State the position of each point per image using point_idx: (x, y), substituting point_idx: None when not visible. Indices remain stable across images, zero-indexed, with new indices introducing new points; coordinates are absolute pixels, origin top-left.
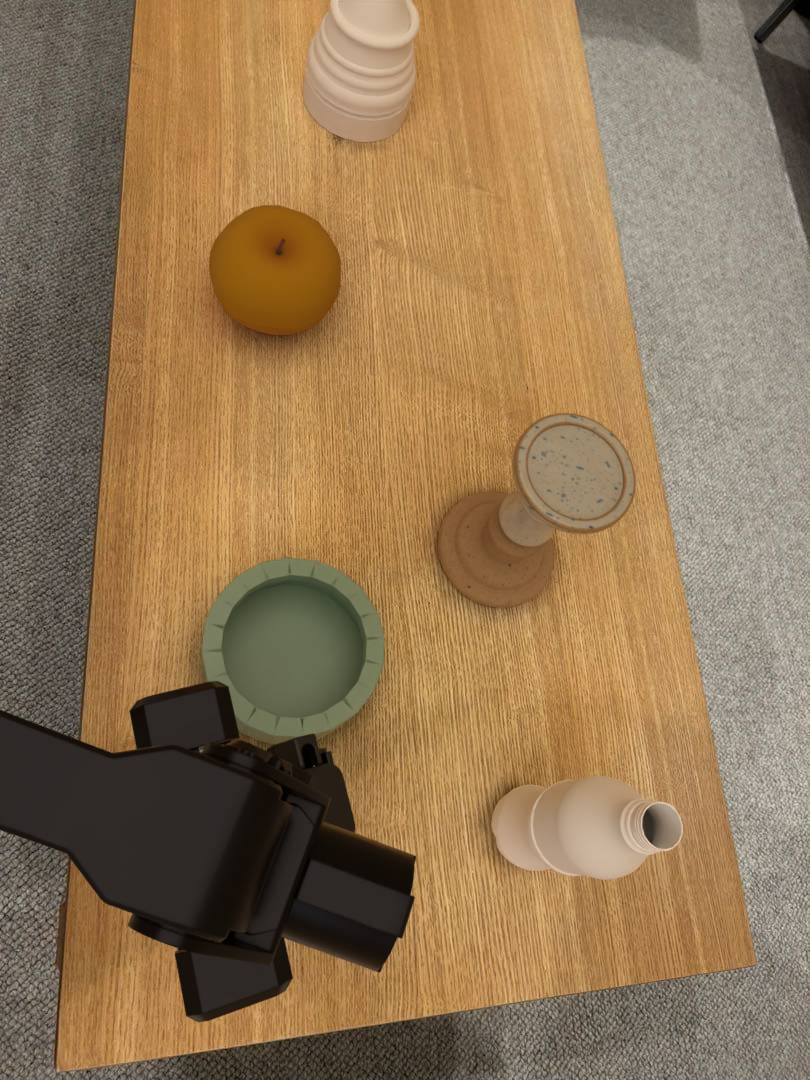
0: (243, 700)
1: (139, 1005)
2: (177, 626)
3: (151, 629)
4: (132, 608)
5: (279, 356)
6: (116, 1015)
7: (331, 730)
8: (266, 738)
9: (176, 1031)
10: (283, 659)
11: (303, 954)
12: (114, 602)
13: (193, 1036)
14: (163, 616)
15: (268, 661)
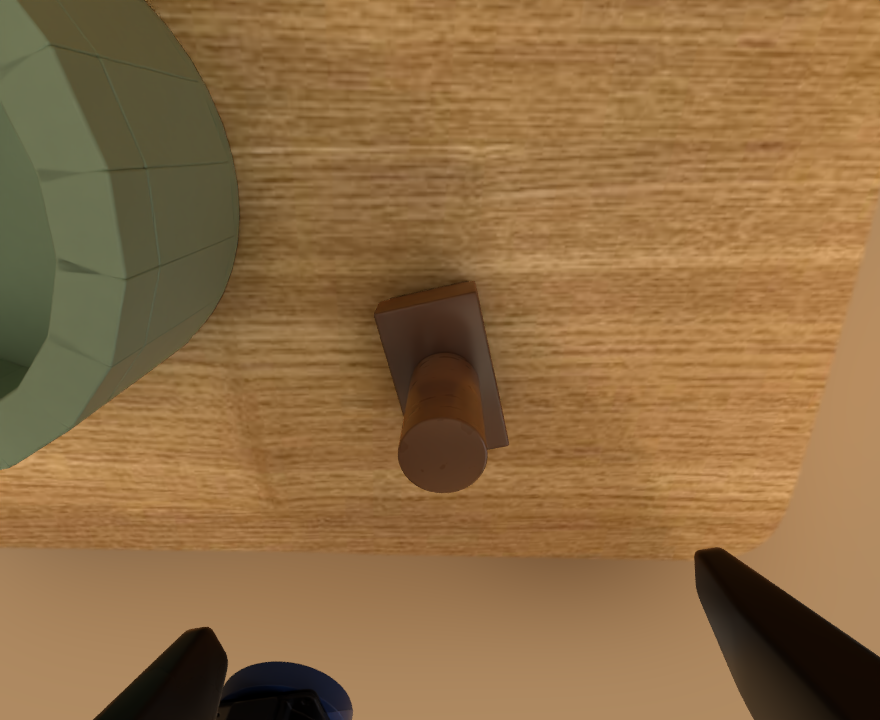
0: (36, 374)
1: (727, 466)
2: None
3: (47, 468)
4: (17, 499)
5: None
6: (731, 498)
7: (87, 46)
8: (190, 265)
9: (794, 408)
10: (14, 194)
11: (735, 142)
12: (17, 526)
13: (815, 379)
14: None
15: (31, 235)
